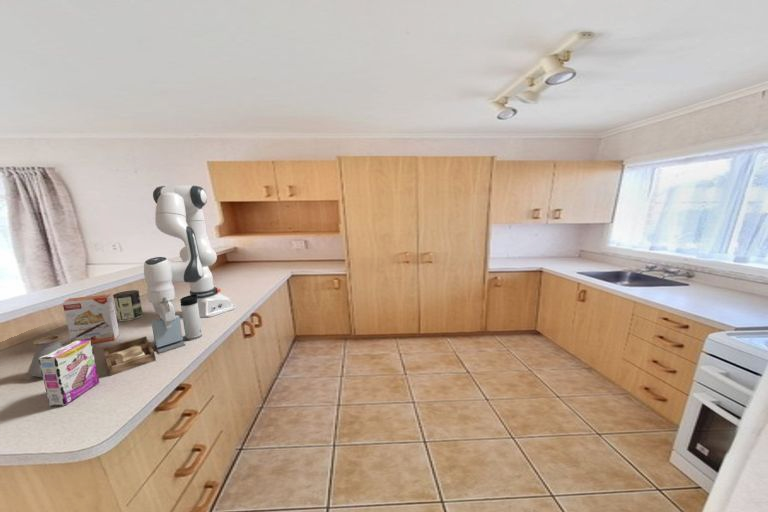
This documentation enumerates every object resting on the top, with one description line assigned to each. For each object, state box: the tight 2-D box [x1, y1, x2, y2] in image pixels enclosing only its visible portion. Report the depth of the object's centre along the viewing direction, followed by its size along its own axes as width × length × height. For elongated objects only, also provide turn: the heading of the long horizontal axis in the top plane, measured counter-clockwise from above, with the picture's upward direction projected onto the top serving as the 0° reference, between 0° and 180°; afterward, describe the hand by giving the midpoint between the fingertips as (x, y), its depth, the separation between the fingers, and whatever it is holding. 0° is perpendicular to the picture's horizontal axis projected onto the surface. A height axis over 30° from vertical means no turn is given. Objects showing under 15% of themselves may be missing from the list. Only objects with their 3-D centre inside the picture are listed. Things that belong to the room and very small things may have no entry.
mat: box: [153, 340, 186, 355], centre depth 118 cm, size 9×10×1 cm
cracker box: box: [62, 293, 120, 345], centre depth 120 cm, size 14×6×21 cm, turn 117°
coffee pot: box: [27, 322, 108, 379], centre depth 102 cm, size 21×12×15 cm, turn 134°
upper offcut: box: [117, 345, 142, 362], centre depth 103 cm, size 6×3×3 cm, turn 161°
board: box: [150, 313, 184, 348], centre depth 117 cm, size 9×4×11 cm, turn 140°
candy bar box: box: [38, 340, 100, 407], centre depth 86 cm, size 11×5×16 cm, turn 5°
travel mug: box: [179, 294, 203, 341], centre depth 124 cm, size 6×7×20 cm
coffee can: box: [112, 289, 144, 322], centre depth 146 cm, size 10×10×14 cm
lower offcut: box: [115, 351, 145, 365], centre depth 104 cm, size 8×4×4 cm, turn 141°
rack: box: [102, 336, 157, 377], centre depth 106 cm, size 13×16×5 cm
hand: (166, 325), depth 116 cm, fingers closed on board, 4 cm apart
